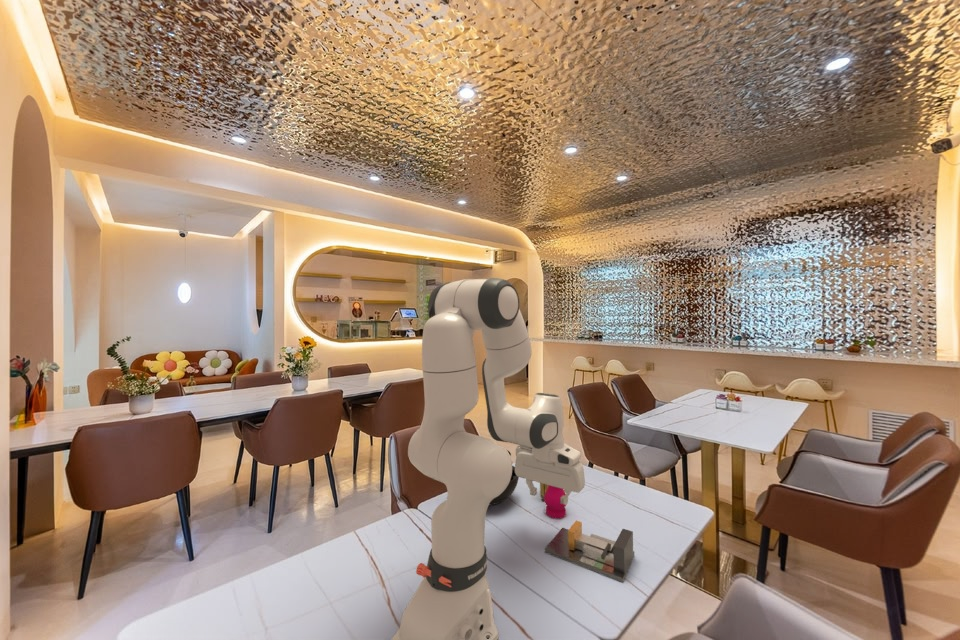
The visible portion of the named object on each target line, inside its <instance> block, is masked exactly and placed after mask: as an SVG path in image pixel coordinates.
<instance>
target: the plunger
mask: <svg viewBox="0 0 960 640" xmlns="http://www.w3.org/2000/svg"><path fill="white" fill-rule="evenodd" d="M582 526H583V522H582V521H579V520H575V521H574V522H573V524H572V525H571V526H570V528H569V529H568V549H570V550H573V551H574V550H575V549H579V550H582V551H583V546H584V544H586V545H589V546H592V547H594V548H597V549H600V550H603V553H602V555H601V559H605V557H606V555H607V553H608V552H609V553H612V554H613V546H614V544H611V543H608V542H605V541H602V540H599V539H596V538H593V537H590V535H587V534H584V533H583V527H582Z"/></svg>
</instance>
